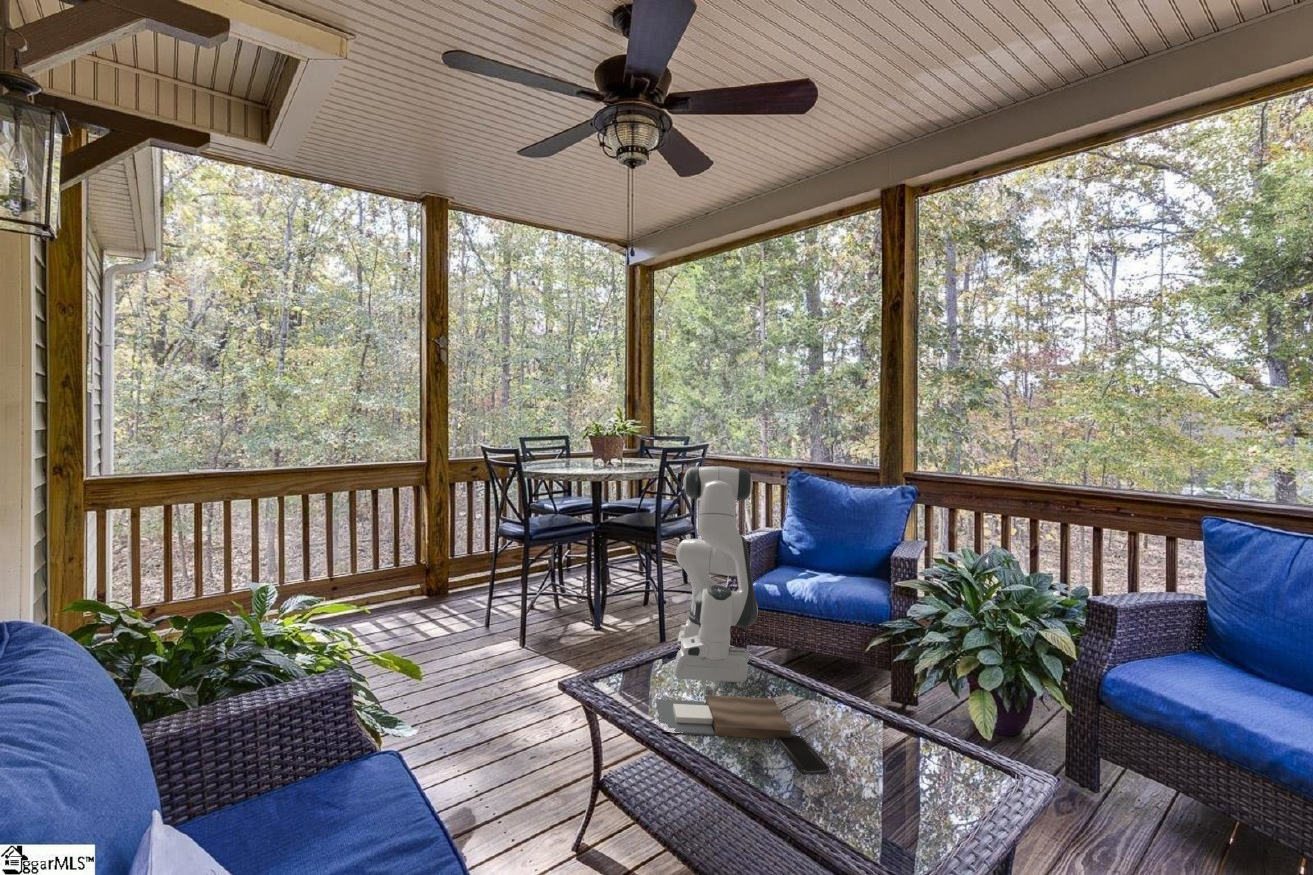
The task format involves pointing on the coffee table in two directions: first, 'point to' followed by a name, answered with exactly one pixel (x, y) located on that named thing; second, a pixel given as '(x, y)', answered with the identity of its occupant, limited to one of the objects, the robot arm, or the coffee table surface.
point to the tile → (692, 713)
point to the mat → (668, 717)
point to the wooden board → (747, 717)
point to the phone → (802, 755)
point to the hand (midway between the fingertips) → (708, 694)
